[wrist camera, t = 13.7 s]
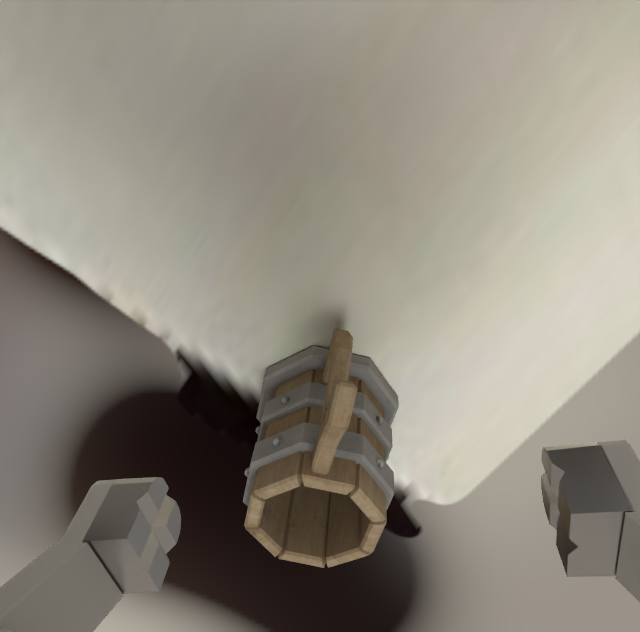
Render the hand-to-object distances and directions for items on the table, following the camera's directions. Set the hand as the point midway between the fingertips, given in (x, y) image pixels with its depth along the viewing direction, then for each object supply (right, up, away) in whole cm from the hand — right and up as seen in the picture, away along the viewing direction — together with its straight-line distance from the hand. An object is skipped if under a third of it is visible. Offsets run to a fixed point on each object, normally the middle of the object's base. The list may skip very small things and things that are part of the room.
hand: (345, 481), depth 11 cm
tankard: (+1, -2, +38) cm, 38 cm away
